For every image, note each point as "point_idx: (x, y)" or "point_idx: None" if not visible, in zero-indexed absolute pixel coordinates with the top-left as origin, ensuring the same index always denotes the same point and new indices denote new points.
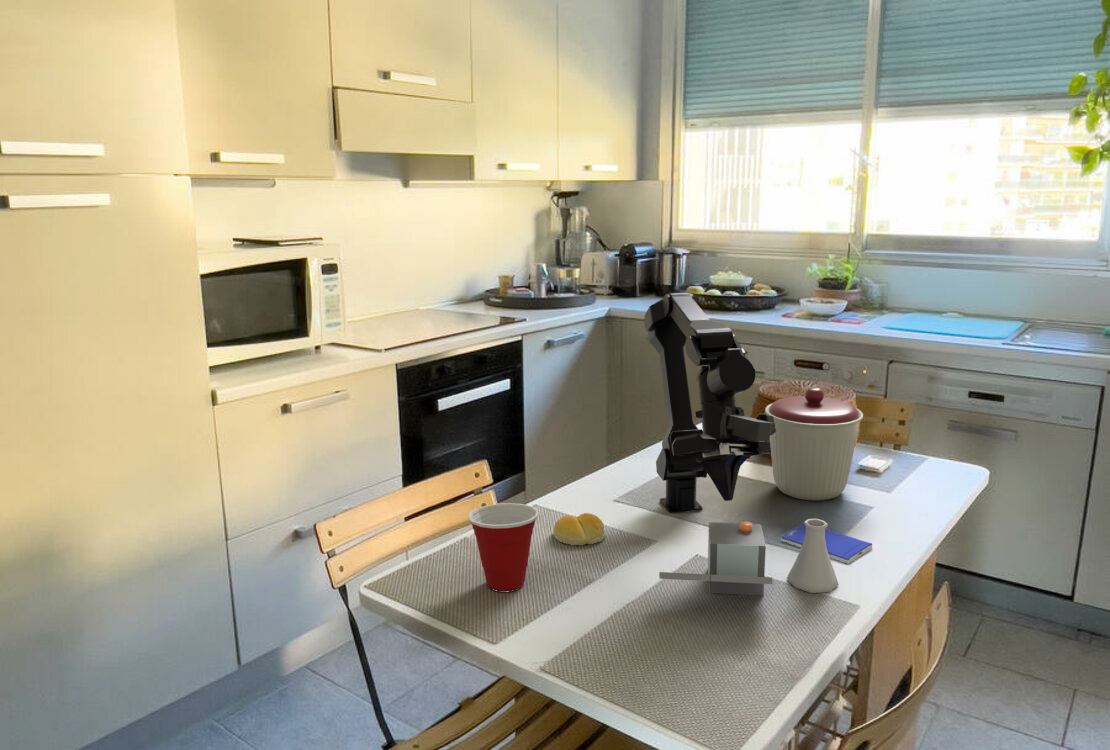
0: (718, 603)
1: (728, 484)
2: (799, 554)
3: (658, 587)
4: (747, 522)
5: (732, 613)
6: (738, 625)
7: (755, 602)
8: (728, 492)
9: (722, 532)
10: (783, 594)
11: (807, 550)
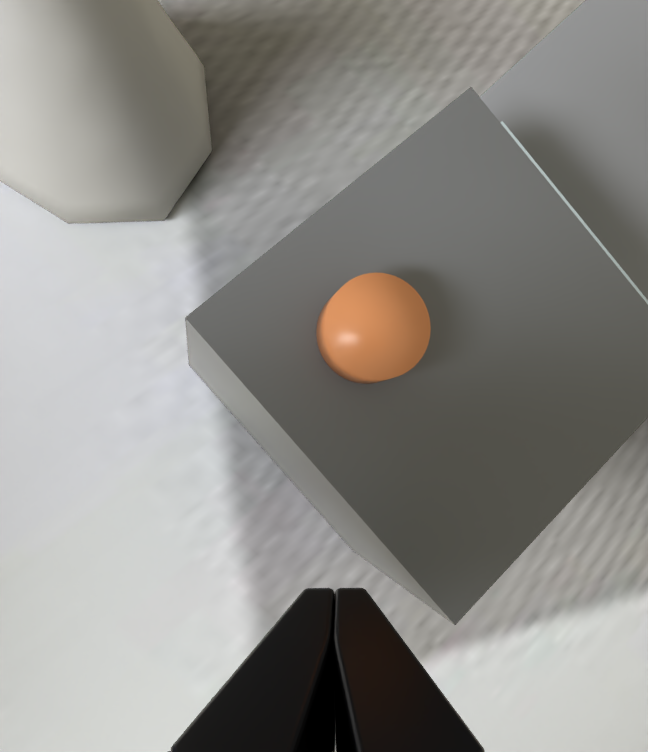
0: None
1: (422, 688)
2: (129, 95)
3: (632, 566)
4: (343, 336)
5: None
6: None
7: None
8: (393, 630)
9: (520, 423)
10: (295, 161)
11: (137, 4)
